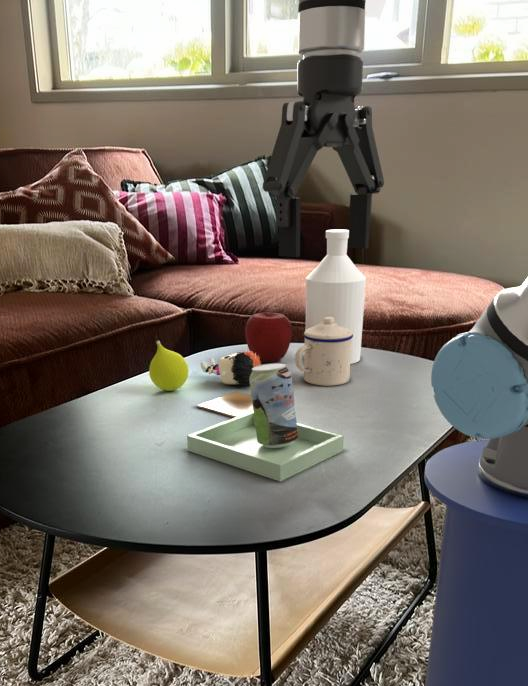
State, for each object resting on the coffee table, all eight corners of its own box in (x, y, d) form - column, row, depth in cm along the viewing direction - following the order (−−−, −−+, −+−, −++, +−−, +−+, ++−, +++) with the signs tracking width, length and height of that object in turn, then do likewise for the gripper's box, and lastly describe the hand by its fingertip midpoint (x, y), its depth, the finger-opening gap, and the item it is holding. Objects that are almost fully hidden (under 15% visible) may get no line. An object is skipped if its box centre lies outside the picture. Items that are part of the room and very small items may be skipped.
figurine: (217, 348, 148) (265, 347, 140) (222, 380, 150) (269, 380, 143) (191, 356, 143) (239, 355, 135) (196, 388, 145) (244, 389, 138)
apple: (288, 354, 162) (289, 306, 157) (294, 366, 153) (295, 316, 149) (244, 355, 161) (243, 307, 157) (247, 367, 153) (246, 317, 148)
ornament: (148, 386, 142) (144, 332, 138) (185, 382, 144) (182, 329, 139) (153, 397, 136) (149, 341, 131) (192, 393, 137) (190, 338, 133)
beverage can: (286, 455, 109) (288, 373, 104) (241, 447, 112) (240, 367, 107) (305, 441, 114) (307, 362, 109) (261, 434, 117) (261, 356, 112)
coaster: (279, 404, 131) (279, 402, 131) (240, 419, 124) (240, 417, 124) (236, 393, 137) (236, 391, 137) (197, 407, 130) (197, 405, 130)
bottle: (354, 350, 164) (361, 226, 153) (367, 364, 153) (375, 233, 142) (300, 352, 163) (302, 228, 152) (308, 366, 153) (312, 234, 142)
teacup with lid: (328, 370, 150) (331, 310, 145) (360, 381, 143) (364, 318, 138) (280, 381, 144) (281, 318, 139) (311, 392, 137) (313, 327, 132)
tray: (343, 450, 111) (343, 435, 110) (280, 481, 102) (280, 465, 101) (252, 425, 122) (252, 410, 121) (187, 450, 112) (186, 435, 111)
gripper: (368, 68, 98) (361, 243, 106) (229, 51, 82) (233, 258, 90) (419, 62, 93) (407, 246, 101) (280, 41, 77) (280, 262, 85)
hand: (325, 252), depth 96 cm, fingers open, 13 cm apart
